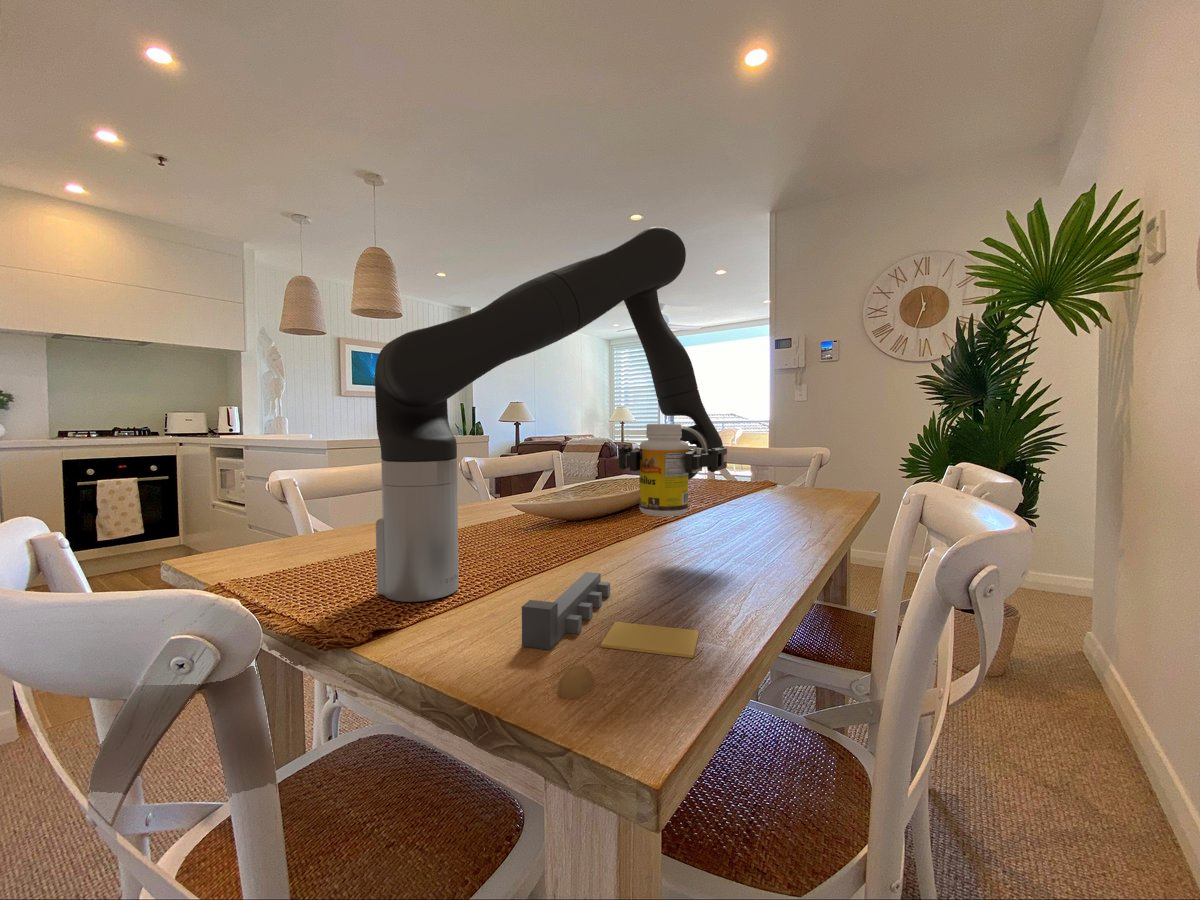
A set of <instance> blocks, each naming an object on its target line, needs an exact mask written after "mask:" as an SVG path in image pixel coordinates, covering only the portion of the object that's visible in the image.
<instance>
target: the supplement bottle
mask: <svg viewBox="0 0 1200 900" xmlns="http://www.w3.org/2000/svg"><path fill="white" fill-rule="evenodd" d="M681 426H682V424H681V423H647V424H646V433H645V434H646V438H647V440H643V441H642V442H640V444H639V448H640V457H639V458H640V470H638V473H639V481H638V483H639V486H638V487H639V489H638V490H639V492H638V493H639V494H638V495H639V499H638V500H639V504H638V505H639V510H640V512H641V513H643V514H645V515H648V516H651V517H653V516H654V517H676V516H677V517H678V516H682V515H685V514H686V513H687V512H688V506H689V480H688V473H686V453H687V452H689V448H688V444H687V443H686V442H685V441H680V438H681V437H682V435H681V434H682V432H681Z"/></svg>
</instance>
